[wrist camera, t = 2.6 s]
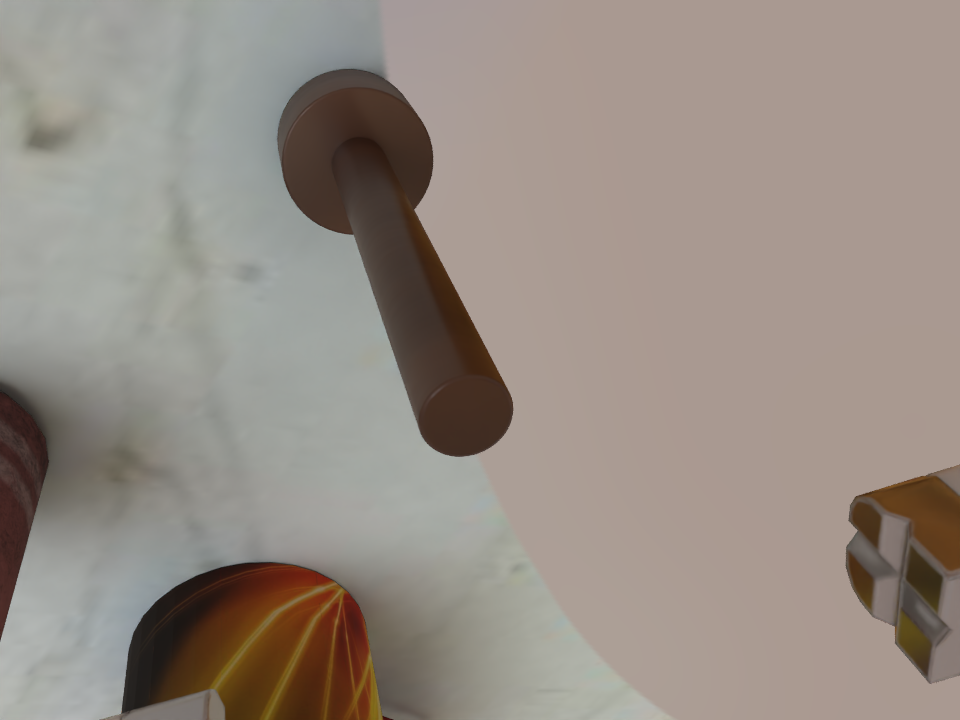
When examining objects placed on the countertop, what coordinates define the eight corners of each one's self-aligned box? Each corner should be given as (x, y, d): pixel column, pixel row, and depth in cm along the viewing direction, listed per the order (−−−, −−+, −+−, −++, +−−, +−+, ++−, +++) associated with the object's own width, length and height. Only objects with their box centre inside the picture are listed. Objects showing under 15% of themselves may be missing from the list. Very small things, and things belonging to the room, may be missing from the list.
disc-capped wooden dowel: (260, 85, 27) (301, 336, 13) (404, 55, 27) (583, 266, 14) (297, 221, 29) (364, 553, 16) (429, 191, 30) (604, 485, 16)
